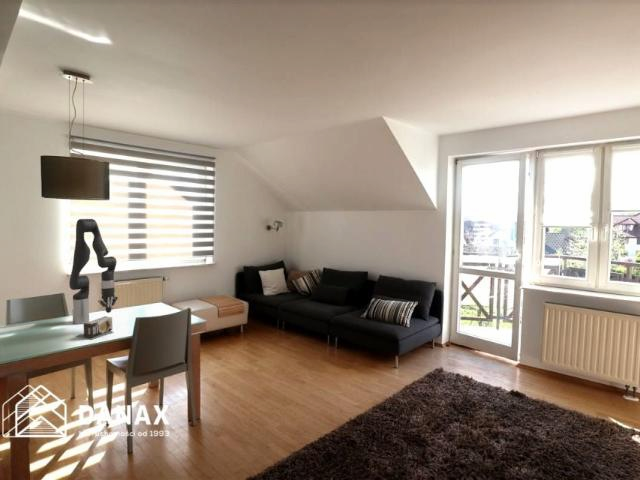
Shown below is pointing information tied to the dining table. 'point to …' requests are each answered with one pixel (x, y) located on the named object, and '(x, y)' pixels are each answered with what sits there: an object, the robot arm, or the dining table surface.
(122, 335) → the dining table surface
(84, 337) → the mat
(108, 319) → the coffee box
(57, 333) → the dining table surface
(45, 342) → the dining table surface
